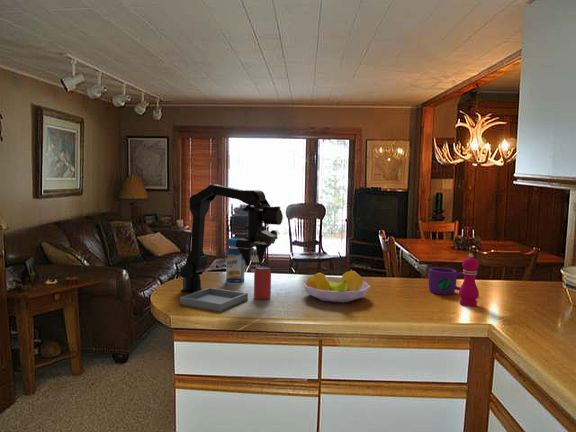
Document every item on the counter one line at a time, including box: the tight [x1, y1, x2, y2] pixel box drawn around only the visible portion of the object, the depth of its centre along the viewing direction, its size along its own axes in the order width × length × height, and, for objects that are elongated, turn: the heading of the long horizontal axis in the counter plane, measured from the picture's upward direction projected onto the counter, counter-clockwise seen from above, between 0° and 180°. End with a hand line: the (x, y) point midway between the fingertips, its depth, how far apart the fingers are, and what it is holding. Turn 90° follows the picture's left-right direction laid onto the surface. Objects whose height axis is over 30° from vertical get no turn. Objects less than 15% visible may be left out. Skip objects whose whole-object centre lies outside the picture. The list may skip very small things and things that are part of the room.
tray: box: [179, 287, 249, 313], centre depth 169 cm, size 18×18×3 cm
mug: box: [428, 266, 464, 296], centre depth 192 cm, size 17×11×10 cm, turn 83°
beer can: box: [253, 266, 272, 301], centre depth 176 cm, size 7×7×12 cm
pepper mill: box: [458, 253, 480, 308], centre depth 174 cm, size 7×7×20 cm
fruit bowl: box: [302, 270, 371, 304], centre depth 178 cm, size 28×27×11 cm
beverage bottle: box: [225, 237, 246, 285], centre depth 201 cm, size 8×8×20 cm
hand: (254, 263), depth 172 cm, fingers open, 9 cm apart
